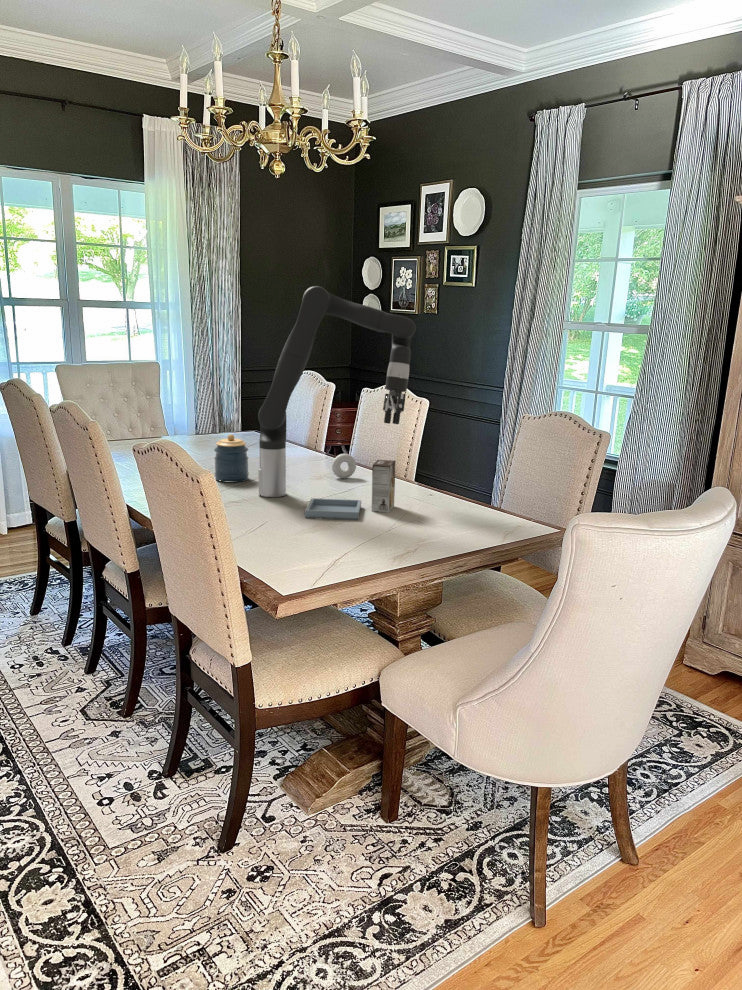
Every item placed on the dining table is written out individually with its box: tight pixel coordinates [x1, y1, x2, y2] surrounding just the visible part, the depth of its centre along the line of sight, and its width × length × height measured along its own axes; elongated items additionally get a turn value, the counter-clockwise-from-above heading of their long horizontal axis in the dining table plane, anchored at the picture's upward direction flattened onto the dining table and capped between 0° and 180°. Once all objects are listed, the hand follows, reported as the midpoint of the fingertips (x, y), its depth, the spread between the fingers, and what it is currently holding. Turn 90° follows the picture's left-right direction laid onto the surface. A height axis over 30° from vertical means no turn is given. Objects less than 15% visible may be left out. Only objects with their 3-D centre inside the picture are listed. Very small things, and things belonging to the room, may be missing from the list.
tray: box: [304, 497, 362, 521], centre depth 247 cm, size 17×16×2 cm
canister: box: [213, 433, 250, 482], centre depth 289 cm, size 13×13×18 cm
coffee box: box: [371, 459, 397, 513], centre depth 252 cm, size 9×6×16 cm
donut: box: [331, 453, 357, 479], centre depth 296 cm, size 10×4×10 cm, turn 109°
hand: (391, 423), depth 260 cm, fingers open, 8 cm apart
